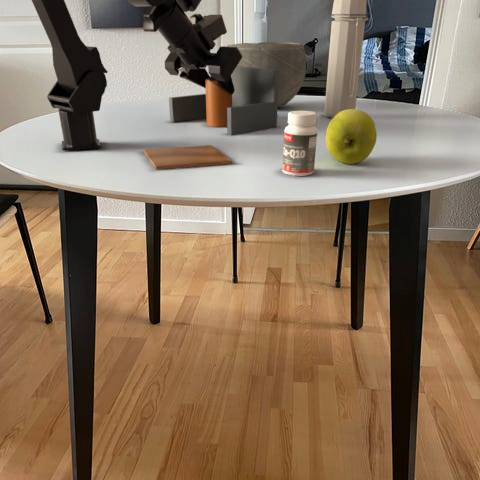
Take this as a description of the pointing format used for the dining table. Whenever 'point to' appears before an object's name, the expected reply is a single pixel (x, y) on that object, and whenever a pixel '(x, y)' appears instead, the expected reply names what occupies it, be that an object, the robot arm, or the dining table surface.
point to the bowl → (277, 64)
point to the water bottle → (344, 55)
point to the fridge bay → (238, 102)
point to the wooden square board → (185, 157)
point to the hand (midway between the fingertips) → (223, 91)
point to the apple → (351, 136)
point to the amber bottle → (216, 105)
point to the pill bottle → (300, 143)
